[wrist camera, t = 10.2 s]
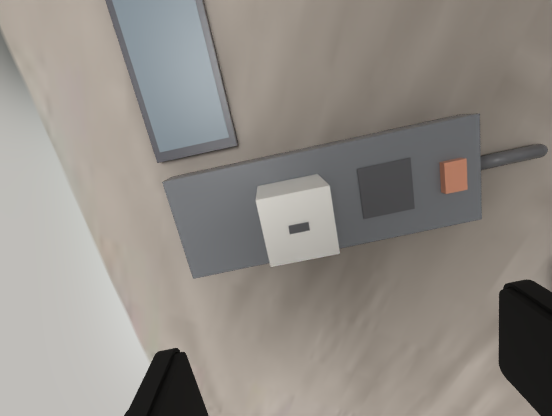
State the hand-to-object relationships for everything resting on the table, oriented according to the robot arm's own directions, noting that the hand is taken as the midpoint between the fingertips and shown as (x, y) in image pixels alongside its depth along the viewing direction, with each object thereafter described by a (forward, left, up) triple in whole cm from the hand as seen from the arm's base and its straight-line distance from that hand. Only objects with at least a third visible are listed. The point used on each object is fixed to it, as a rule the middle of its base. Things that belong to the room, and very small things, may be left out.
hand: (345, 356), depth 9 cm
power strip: (-6, 0, -19) cm, 20 cm away
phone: (+7, -13, -19) cm, 24 cm away
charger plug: (0, 0, -19) cm, 19 cm away
